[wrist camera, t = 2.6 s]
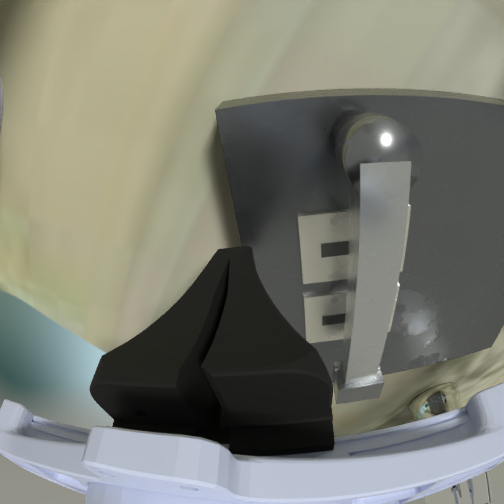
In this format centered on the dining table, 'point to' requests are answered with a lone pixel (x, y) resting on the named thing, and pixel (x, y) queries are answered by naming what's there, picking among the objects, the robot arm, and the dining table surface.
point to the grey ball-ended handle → (373, 243)
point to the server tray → (337, 216)
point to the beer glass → (438, 402)
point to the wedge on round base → (1, 102)
